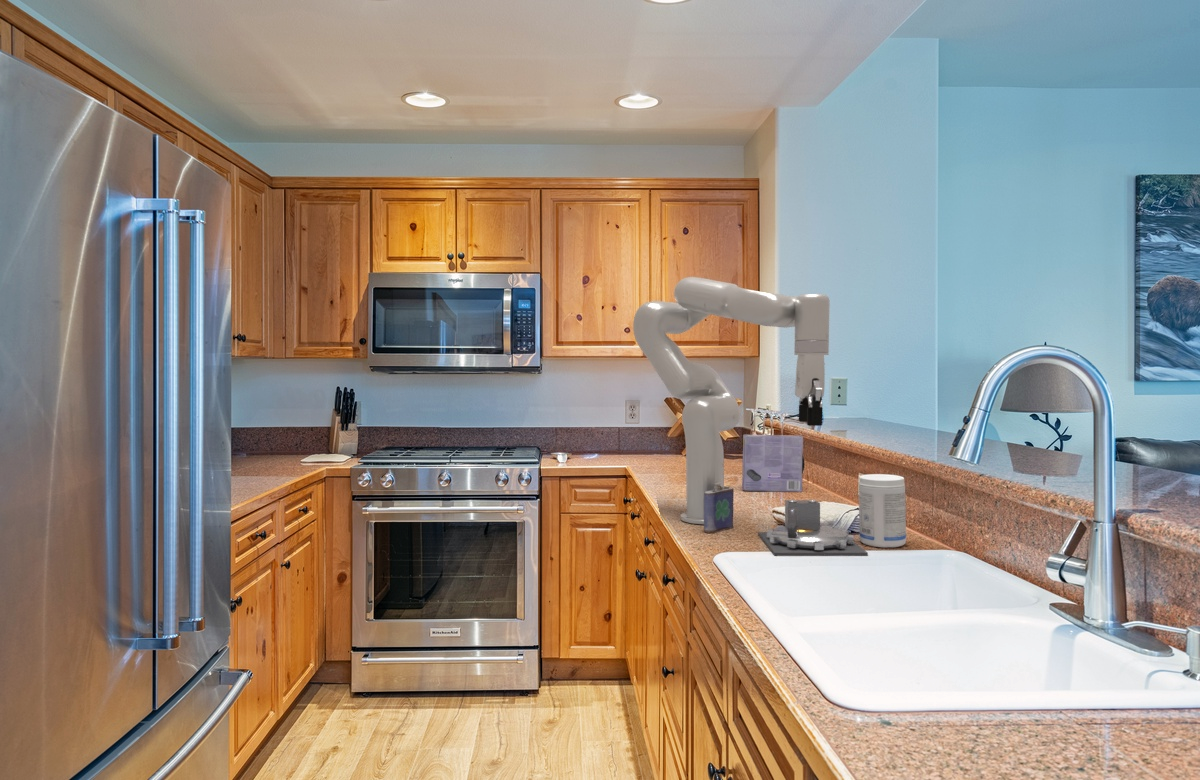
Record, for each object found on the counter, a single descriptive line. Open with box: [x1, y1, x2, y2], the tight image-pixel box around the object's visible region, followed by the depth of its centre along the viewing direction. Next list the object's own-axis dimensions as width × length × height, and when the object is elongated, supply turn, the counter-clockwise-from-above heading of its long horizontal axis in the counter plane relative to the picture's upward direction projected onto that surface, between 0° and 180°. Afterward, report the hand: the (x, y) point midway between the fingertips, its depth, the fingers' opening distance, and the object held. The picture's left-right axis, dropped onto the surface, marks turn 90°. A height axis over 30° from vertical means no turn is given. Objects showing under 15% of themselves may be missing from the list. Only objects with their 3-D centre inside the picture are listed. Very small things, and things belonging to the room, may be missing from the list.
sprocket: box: [766, 509, 855, 550], centre depth 160 cm, size 18×18×7 cm
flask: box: [703, 481, 735, 534], centre depth 176 cm, size 10×3×12 cm, turn 133°
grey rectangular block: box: [784, 499, 821, 530], centre depth 165 cm, size 4×7×6 cm, turn 88°
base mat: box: [757, 531, 869, 557], centre depth 161 cm, size 19×19×1 cm
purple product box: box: [741, 434, 806, 493], centre depth 230 cm, size 19×5×18 cm, turn 84°
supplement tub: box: [858, 473, 907, 549], centre depth 161 cm, size 10×10×15 cm
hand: (810, 423), depth 168 cm, fingers open, 9 cm apart
